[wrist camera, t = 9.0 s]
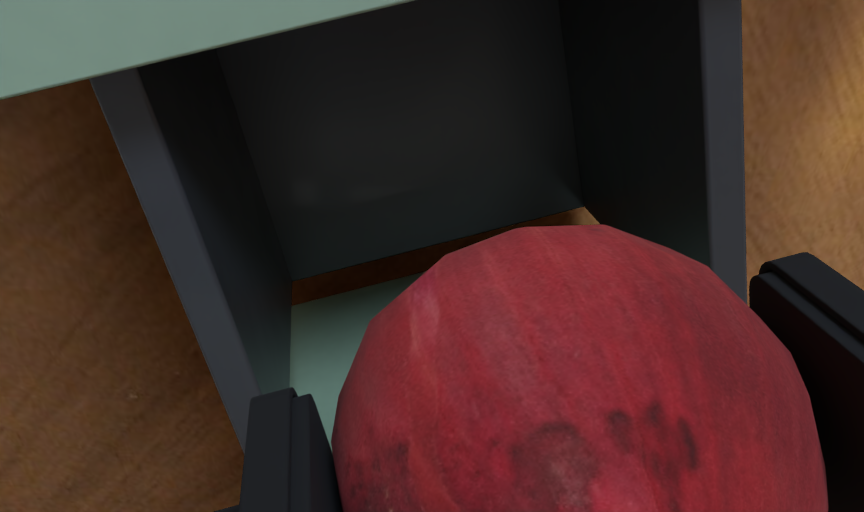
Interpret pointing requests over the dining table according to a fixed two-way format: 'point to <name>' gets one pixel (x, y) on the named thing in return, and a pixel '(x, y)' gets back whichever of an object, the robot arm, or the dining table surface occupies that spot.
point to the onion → (574, 388)
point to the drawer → (421, 158)
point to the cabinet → (138, 33)
